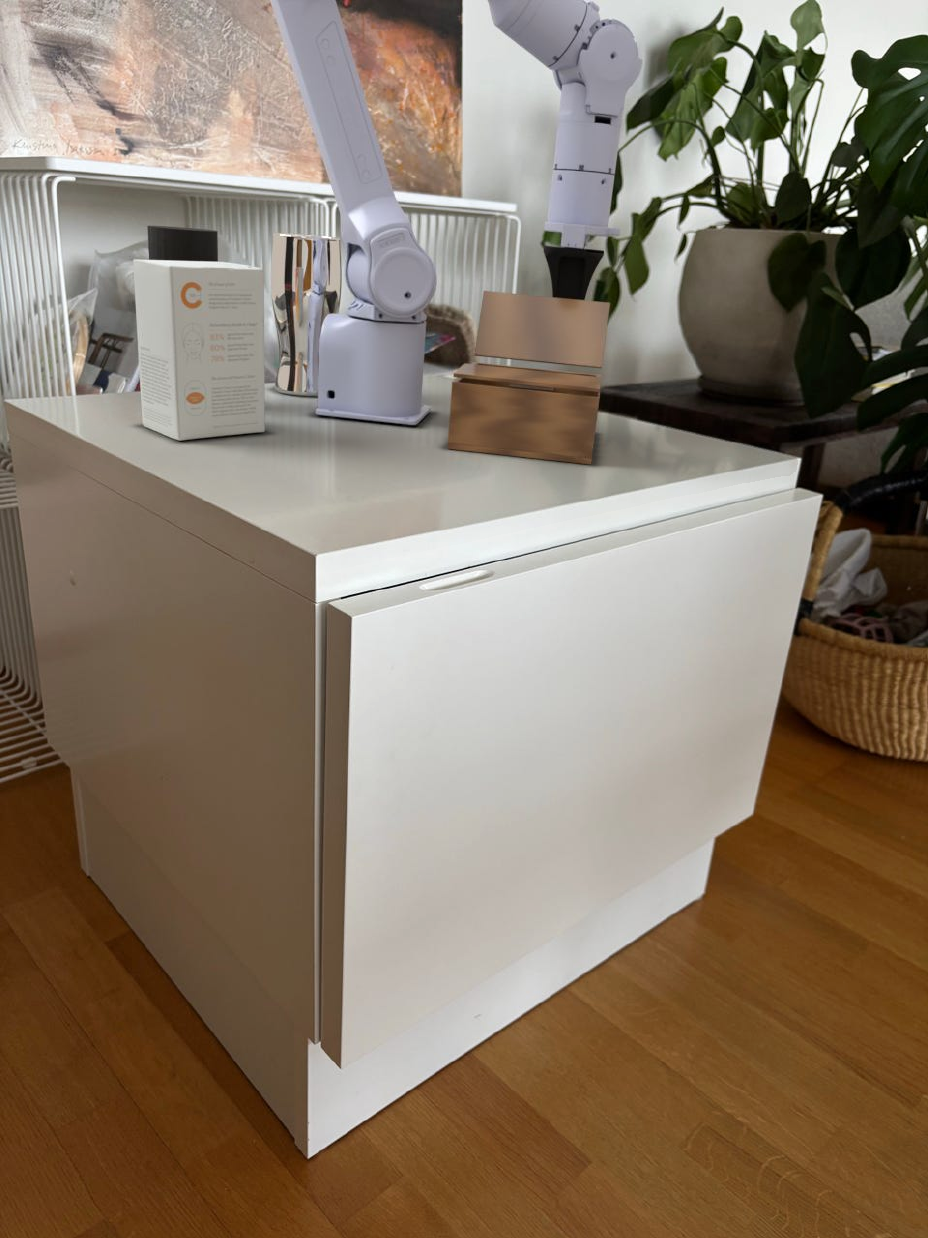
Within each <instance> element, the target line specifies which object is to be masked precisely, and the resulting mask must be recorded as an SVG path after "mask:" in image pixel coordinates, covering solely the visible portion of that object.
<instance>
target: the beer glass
mask: <svg viewBox="0 0 928 1238" xmlns="http://www.w3.org/2000/svg"><path fill="white" fill-rule="evenodd" d="M341 240H342V238H340V237H337V236H336V237H334V236H326V235H318V234H317V235H315V234H303V233H289V232H273V233H272V247H271V259H270V260H271V261H270V296H271V303H272V304H271V305H272V311H273V312H272V313H273V318H274V324H275V329H276V335H277V337H276V338H277V343H278V366H277V372H276V377H275V383H274V390H275V391H276V392H277V393H280V394H283V395H284V394H285V395H290V396H298V397H318V372H319V341H320V333H321V328H322V324H323V321H324V319H325V317H326V316H327V315H328V314H340V306H341V299H342V286H343V266H342V265H343V264H342V246H341V245H342V243H341V242H342V241H341Z"/></svg>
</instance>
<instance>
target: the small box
mask: <svg viewBox="0 0 928 1238" xmlns="http://www.w3.org/2000/svg"><path fill="white" fill-rule="evenodd" d="M132 262H133V281H134V300H135V316H136V333H137V352H138V369H139V386H140V387H139V388H140V402H141V403H140V405H141V420H142V425H143V427H144V428H147V429H150V430H151V431H154V432H156V433H159V434H161V435H162V436H163V435H164V436H166V437H168V438H170V439H173V440H175V441H179V442H180V441H181V442H182V441H187V440H189V441H190V440H197V439H204V438H205V439H206V438H215V437H225V436H234V435H243V434H253V433H254V434H255V433H264V432H265V430H266V429H265V428H266V427H265V424H266V423H265V422H266V421H265V419H266V417H265V415H266V414H265V413H266V410H265V409H266V407H265V403H266V402H265V401H266V399H265V398H266V397H265V396H266V395H265V388H266V387H265V269H263V268H261V267H257V266H252V265H247V264H242V263H236V262H235V263H234V262H227V261H218V262H206V261H169V260H149V259H137V258H135V259H133V260H132Z"/></svg>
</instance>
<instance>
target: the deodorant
mask: <svg viewBox="0 0 928 1238" xmlns="http://www.w3.org/2000/svg"><path fill="white" fill-rule="evenodd" d="M146 227H147V248H148V249H147V250H148V260H169V261H206V262H219V239H218V231H217V230H212V229H204V228H193V227H180V226H168V225H167V226H165V225H146Z"/></svg>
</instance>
